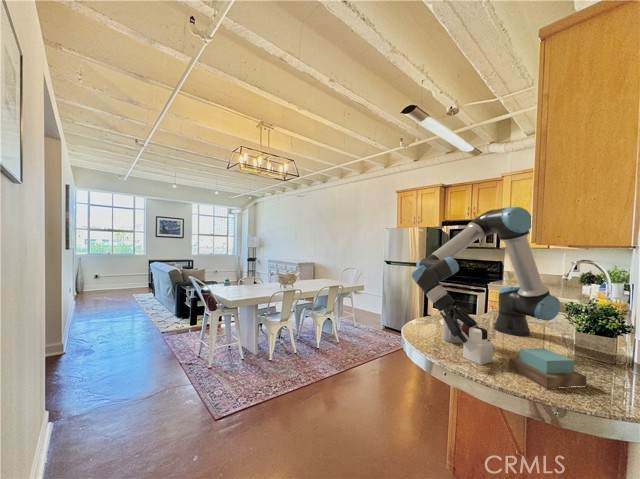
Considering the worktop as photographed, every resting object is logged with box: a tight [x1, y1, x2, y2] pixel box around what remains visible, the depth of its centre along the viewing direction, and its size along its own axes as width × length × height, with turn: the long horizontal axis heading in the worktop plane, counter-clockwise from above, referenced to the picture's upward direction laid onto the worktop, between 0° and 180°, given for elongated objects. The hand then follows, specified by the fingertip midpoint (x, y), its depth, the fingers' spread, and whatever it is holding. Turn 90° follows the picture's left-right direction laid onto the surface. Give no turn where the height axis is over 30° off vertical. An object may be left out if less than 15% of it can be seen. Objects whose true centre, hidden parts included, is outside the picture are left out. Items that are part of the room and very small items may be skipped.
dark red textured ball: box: [461, 322, 479, 337], centre depth 131 cm, size 7×8×7 cm
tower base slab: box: [508, 357, 587, 390], centre depth 91 cm, size 14×14×4 cm
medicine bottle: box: [462, 326, 494, 366], centre depth 103 cm, size 7×7×12 cm
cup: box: [442, 319, 462, 344], centre depth 122 cm, size 7×10×9 cm
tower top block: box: [518, 347, 575, 374], centre depth 92 cm, size 10×10×4 cm
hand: (479, 345), depth 103 cm, fingers open, 13 cm apart
